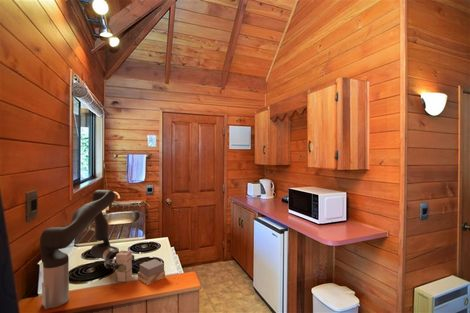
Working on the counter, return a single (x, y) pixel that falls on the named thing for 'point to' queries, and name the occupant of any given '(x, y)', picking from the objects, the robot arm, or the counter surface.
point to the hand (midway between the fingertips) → (125, 264)
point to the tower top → (151, 268)
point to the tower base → (151, 279)
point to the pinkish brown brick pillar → (124, 266)
